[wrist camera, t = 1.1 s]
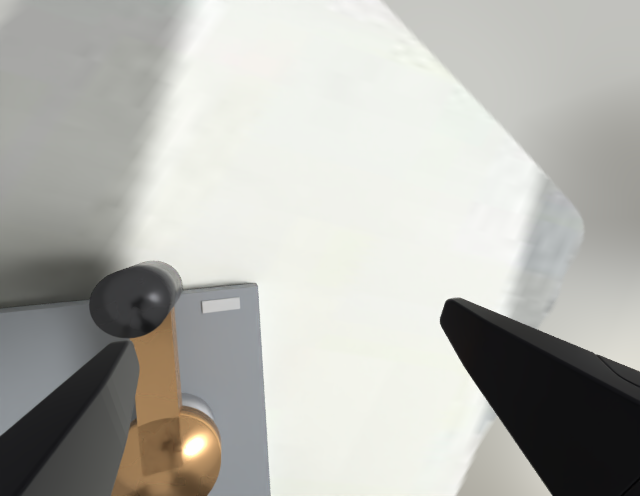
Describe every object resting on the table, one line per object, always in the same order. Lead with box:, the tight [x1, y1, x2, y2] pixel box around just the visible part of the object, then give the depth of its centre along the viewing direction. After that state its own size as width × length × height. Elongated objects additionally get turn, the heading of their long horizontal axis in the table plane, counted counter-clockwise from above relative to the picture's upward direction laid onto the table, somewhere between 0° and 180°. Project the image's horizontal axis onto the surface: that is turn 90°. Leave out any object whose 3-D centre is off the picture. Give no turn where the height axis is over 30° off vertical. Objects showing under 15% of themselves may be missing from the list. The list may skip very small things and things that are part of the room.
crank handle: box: [89, 261, 221, 496], centre depth 15 cm, size 14×6×4 cm, turn 2°
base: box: [0, 283, 271, 496], centre depth 18 cm, size 18×18×4 cm
